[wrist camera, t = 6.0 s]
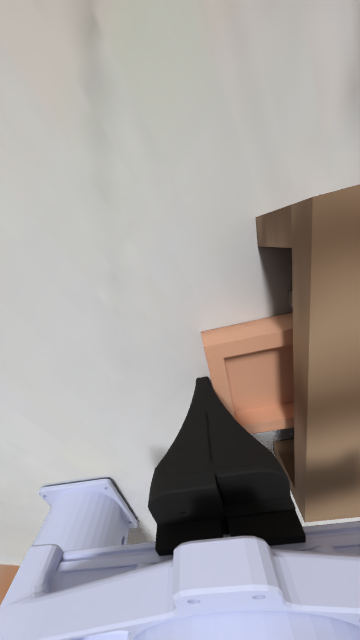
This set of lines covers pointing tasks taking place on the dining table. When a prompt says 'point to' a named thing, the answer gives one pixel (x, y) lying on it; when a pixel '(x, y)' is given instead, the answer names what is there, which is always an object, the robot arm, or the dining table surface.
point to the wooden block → (322, 350)
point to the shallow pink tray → (254, 371)
